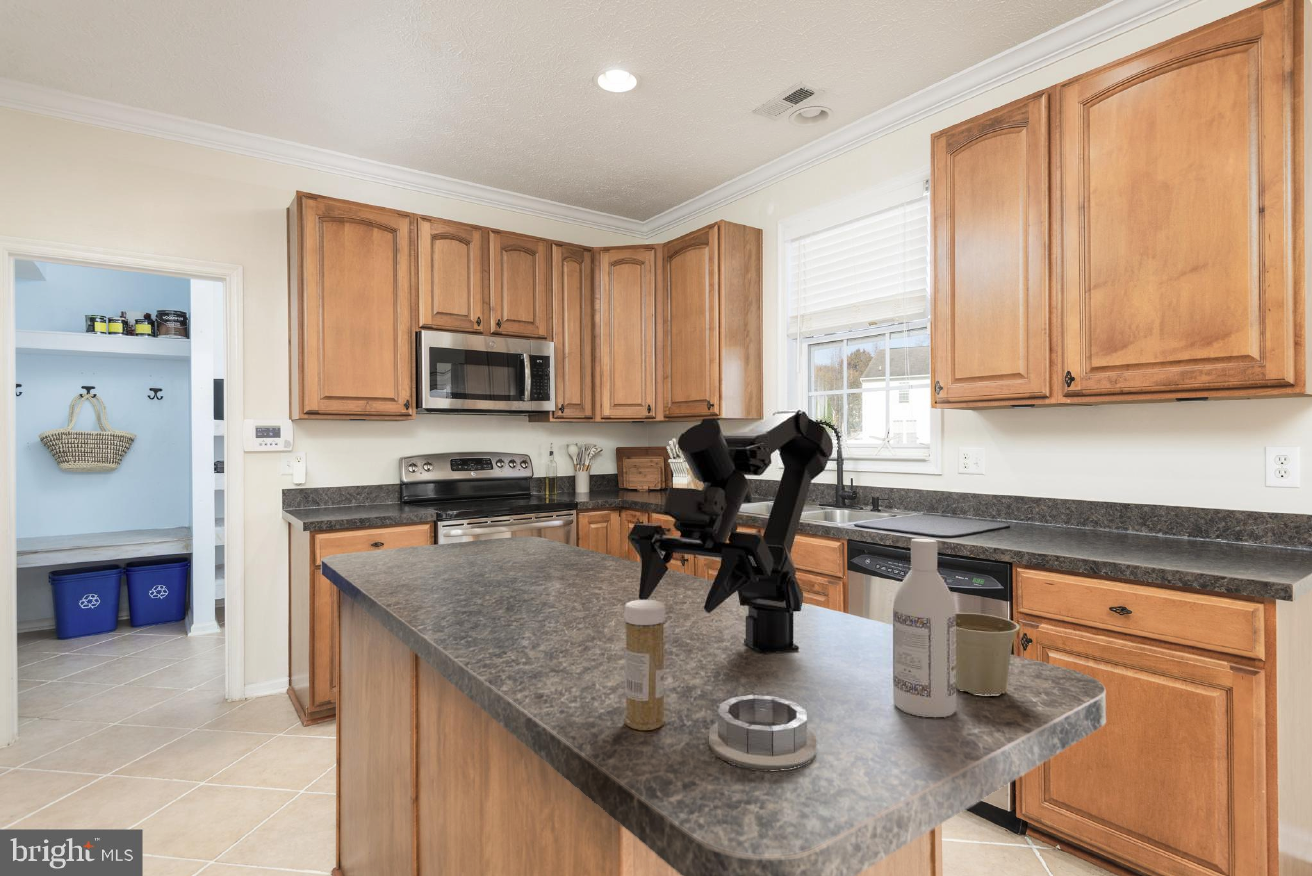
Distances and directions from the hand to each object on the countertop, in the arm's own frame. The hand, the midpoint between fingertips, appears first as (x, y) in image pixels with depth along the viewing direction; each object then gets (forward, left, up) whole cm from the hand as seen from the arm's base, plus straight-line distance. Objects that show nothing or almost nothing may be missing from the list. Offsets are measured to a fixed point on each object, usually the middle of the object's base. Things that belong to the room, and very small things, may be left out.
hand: (672, 605), depth 79 cm
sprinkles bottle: (+5, +4, -12) cm, 14 cm away
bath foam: (-28, +10, -12) cm, 32 cm away
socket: (-5, +13, -12) cm, 18 cm away
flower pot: (-39, +7, -12) cm, 42 cm away
